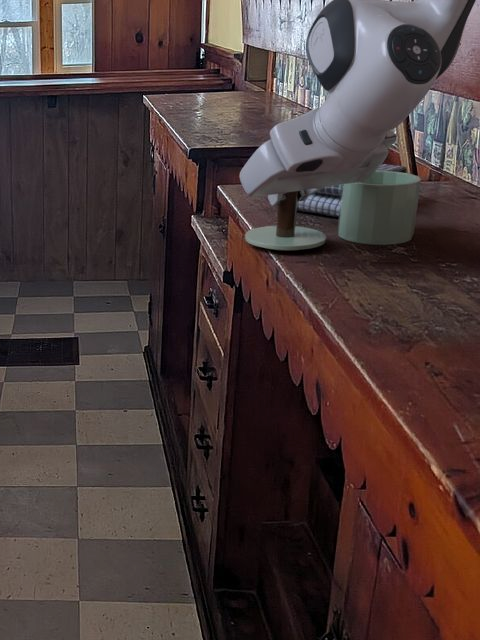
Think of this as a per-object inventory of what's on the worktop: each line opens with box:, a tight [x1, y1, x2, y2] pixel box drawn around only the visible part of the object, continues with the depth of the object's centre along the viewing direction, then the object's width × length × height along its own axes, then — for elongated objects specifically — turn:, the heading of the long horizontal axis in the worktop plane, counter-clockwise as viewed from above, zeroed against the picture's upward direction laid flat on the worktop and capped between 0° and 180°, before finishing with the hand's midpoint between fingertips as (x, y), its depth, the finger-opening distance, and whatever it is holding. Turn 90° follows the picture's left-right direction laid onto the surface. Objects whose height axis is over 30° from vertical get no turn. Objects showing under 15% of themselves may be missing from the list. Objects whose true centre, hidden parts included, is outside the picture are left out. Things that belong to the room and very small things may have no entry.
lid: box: [244, 191, 327, 252], centre depth 124 cm, size 11×11×9 cm
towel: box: [297, 163, 408, 218], centre depth 143 cm, size 15×18×8 cm
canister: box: [337, 171, 422, 246], centre depth 126 cm, size 10×10×8 cm
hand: (285, 199), depth 123 cm, fingers closed on lid, 2 cm apart
